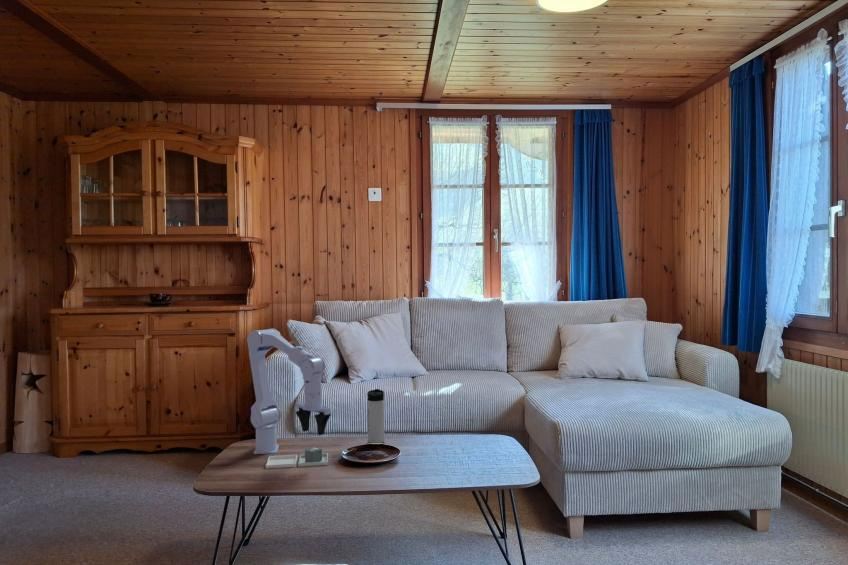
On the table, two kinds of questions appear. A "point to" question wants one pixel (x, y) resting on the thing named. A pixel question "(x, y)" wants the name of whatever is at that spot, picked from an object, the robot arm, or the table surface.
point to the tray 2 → (323, 462)
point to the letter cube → (313, 454)
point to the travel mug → (375, 416)
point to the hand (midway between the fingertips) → (313, 432)
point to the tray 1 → (281, 461)
